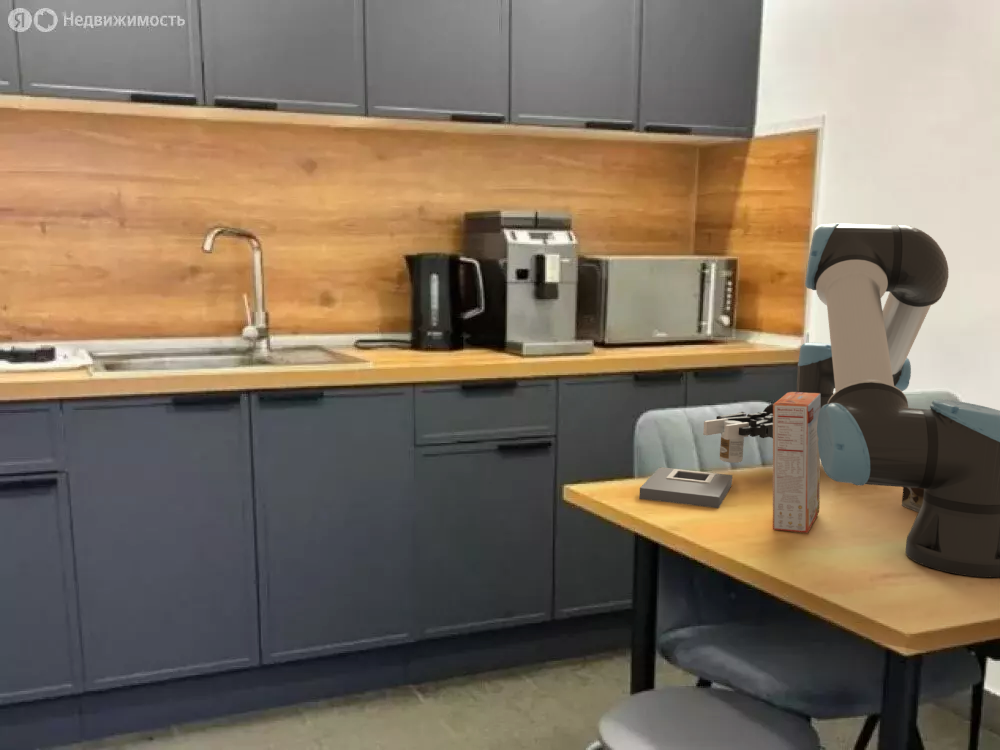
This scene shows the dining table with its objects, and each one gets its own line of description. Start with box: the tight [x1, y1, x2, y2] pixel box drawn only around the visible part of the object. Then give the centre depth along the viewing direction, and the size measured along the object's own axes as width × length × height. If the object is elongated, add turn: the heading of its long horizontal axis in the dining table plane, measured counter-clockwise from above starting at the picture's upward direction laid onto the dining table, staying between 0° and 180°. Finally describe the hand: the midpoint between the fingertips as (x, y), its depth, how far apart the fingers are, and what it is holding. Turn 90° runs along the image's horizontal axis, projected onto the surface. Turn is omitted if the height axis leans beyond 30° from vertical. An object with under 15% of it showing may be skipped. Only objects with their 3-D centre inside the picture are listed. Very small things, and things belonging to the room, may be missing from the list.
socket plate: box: [638, 466, 733, 509], centre depth 175 cm, size 18×14×2 cm
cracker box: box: [772, 391, 821, 534], centre depth 155 cm, size 14×6×21 cm, turn 154°
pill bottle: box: [719, 421, 745, 464], centre depth 185 cm, size 4×4×8 cm
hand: (715, 430), depth 181 cm, fingers closed on pill bottle, 4 cm apart
